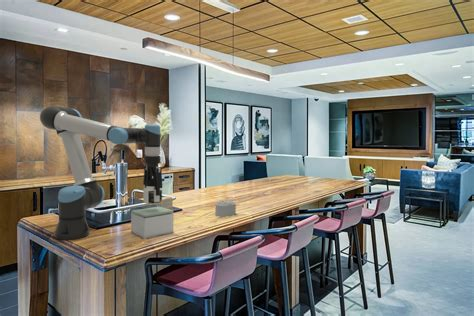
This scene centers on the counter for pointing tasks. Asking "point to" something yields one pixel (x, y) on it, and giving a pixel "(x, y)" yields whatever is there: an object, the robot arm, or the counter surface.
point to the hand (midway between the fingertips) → (152, 200)
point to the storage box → (152, 225)
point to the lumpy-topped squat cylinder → (225, 208)
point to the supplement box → (166, 203)
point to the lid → (151, 211)
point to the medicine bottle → (150, 193)
